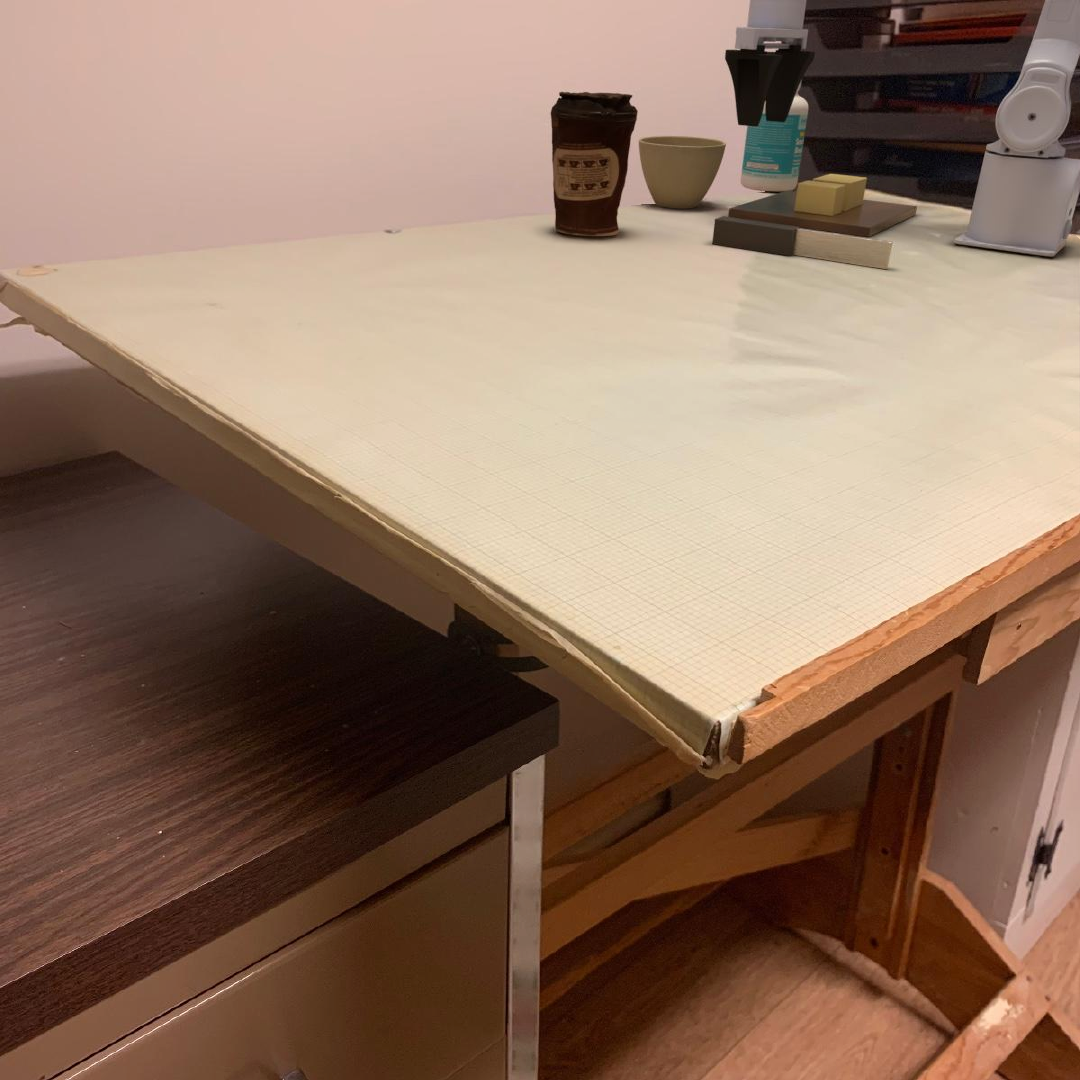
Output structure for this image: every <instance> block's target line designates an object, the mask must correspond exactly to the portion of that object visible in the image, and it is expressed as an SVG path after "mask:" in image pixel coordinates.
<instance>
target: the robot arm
mask: <svg viewBox="0 0 1080 1080" xmlns="http://www.w3.org/2000/svg"><path fill="white" fill-rule="evenodd" d="M748 6H749V7H748V12H747V13H748V16H747V23H746V26H736V28H735V29H736V30H735V34H736V35H735V43H734V49H725V52H724V60H725V62H726V65H727V68H728V70H729V73H730V77H731V81H732V85H733V92H734V99H735V100H734V101H735V109H736V119H737V125H738V126H743V127H744V126H745V127H747V126H755V127H756V126H758V125H759V123H760V120H761V117H762V113H763V109H764V105H765V114H766V121H775V122H785V121H786V119H787V117H788V114H789V111H790V108H791V106H792V103H793V100H794V97H795V94H796V91H797V89H798V86H799V84H800V82H801V83H802V81H801V80H803V78H804V77H805V74H806V72H807V70H808V69H809V67H810V66H811V64H812V63H813V61H814V60H815V55H816V52H815V51H814V50H812V51H811V50H806V49H807V42H808V37H809V35H808V34H809V29H807V28H806V29H805V28H804V21H805V13H806V6H807V0H749V5H748ZM765 42H766V43H765ZM768 42H769V43H768ZM776 42H777V43H776ZM773 49H775V51H767V50H773ZM1079 58H1080V0H1044V3H1043V6H1042V10H1041V13H1040V16H1039V18H1038V22H1037V25H1036V28H1035V31H1034V34H1033V37H1032V41H1031V43H1030V46H1029V48H1028V51H1027V54H1026V57H1025V60H1024V62H1023V65H1022V68H1021V71H1020V73H1019V77H1018V80H1017V81H1016V83H1015V85H1014V86H1013V87H1012V89H1010V90H1009V92H1008V93H1007V94H1006V95H1005V96H1004V98H1003V99H1002V100H1001V102H1000V103H999V107H998V108H997V111H996V115H995V130H996V133H997V137H998V140H996V141H994V142H991V143H987V144H986V147H985V149H986V150H985V151H984V156H983V160H982V165H981V168H980V173H979V177H978V182H977V186H976V191H975V195H974V199H973V204H972V208H971V212H970V216H969V221H968V225H967V230H966V231H965V232H964V233H962V234H961V235H959V236H957V237H956V238H954V240H953V244H956V245H963V246H969V247H975V248H984V249H991V250H992V249H993V250H998V251H1005V252H1014V253H1020V254H1028V255H1034V256H1043V257H1055V256H1056V255H1057V254H1058V253H1059V252H1060V251H1061V250H1062V249H1063V248H1064V247H1065V246H1066V245H1067V239H1068V238H1069V236H1070V233H1071V229H1072V226H1073V216H1074V213H1075V210H1076V206H1077V202H1078V200H1079V195H1080V159H1079V158H1069V157H1065V155H1066V149H1067V148H1066V147H1064V146H1062V144H1060V142H1059V138H1060V137H1061V136H1062V134H1063V133H1064V132H1065V130H1066V128H1067V126H1068V125H1069V124H1068V123H1069V121H1070V116H1071V111H1072V100H1071V93H1070V87H1071V82H1072V78H1073V76H1074V73H1075V69H1076V67H1077V65H1078V61H1079Z"/></svg>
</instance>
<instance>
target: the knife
mask: <svg viewBox="0 0 1080 1080" xmlns="http://www.w3.org/2000/svg"><path fill="white" fill-rule="evenodd" d="M711 243H712V245H716V246H723V247H730V248H736V249H743V250H748V251H754V252H762V253H768V254H776V255H781V256H785V257H786V256H787V257H790V256H792V255H793V256H798V257H805V258H812V259H818V260H824V261H832V262H837V263H843V264H844V263H845V264H851V265H856V266H862V267H868V268H869V267H870V268H877V269H881V270H882V269H883V270H887V269H888V268H889V262H890V258H891V253H892V248H893V243H894V242H893V241H890V240H884V239H883V240H882V239H877V238H870V237H864V236H857V235H850V234H842V233H835V232H828V231H821V230H814V229H807V228H801V227H796V226H789V225H782V224H775V223H768V222H761V221H754V220H747V219H739V218H732V217H728V216H720V217H717V218H714V225H713V234H712V242H711Z"/></svg>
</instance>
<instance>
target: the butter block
mask: <svg viewBox="0 0 1080 1080" xmlns="http://www.w3.org/2000/svg"><path fill="white" fill-rule="evenodd" d="M812 181H817V182H826V183H834V184H843V185H846V186H845V192H844V198H843V204H842V210H841V211H847V210H849V209H852V208H855V207H857V206H860V205H862V203H863V200H864V197H865V192H866V186H867V181H868V177H865V176H857V175H848V174H847V175H845V174H838V173H828V174H824V175H822V176H818V177H815V178H812Z"/></svg>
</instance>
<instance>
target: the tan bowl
mask: <svg viewBox="0 0 1080 1080" xmlns="http://www.w3.org/2000/svg"><path fill="white" fill-rule="evenodd" d="M726 146H727V142H726V141H723V140H720V139H716V138H710V137H701V136H700V137H699V136H689V135H651V136H650V135H649V136H643V137H640V138H639V139H638V151H639V153H638V154H639V158H640V159H639V160H640V166H641V171H642V174H643V177H644V178H643V179H644V181H645V183H646V186H647V190H648V191H649V193H650V196H651V198H652V200H653V203H654V205H656V206H658V207H663V208H667V209H694V208H696V207H698V206H699V205H700V204H701V202H702V201H703V200H704V198H705V196H706V195H707V194H708V192H709V190H710V189H711V187H712V185H713V183H714V181H715V179H716V177H717V174H718V171H719V169H720V167H721V164H722V161H723V158H724V155H725V150H726Z"/></svg>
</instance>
